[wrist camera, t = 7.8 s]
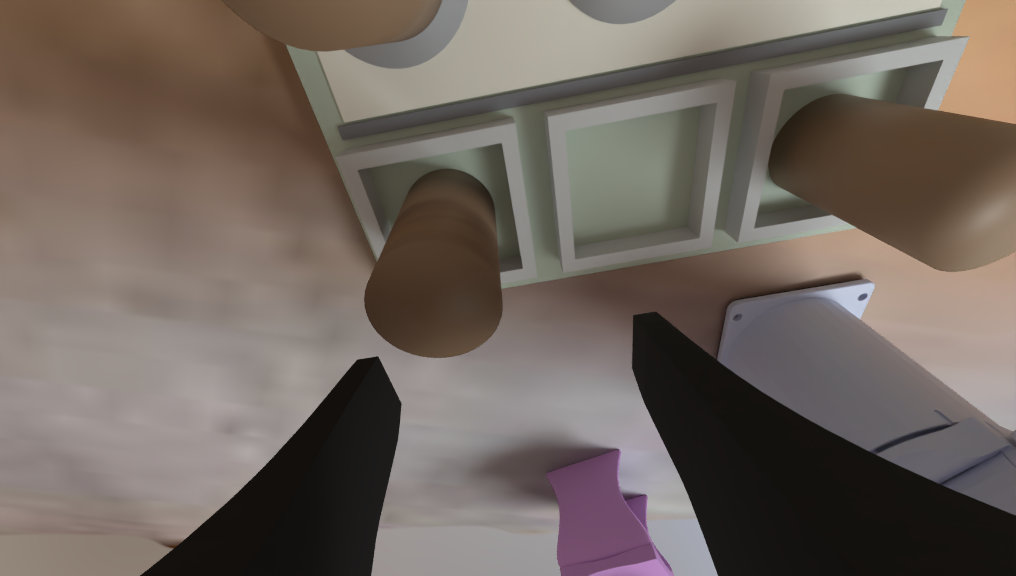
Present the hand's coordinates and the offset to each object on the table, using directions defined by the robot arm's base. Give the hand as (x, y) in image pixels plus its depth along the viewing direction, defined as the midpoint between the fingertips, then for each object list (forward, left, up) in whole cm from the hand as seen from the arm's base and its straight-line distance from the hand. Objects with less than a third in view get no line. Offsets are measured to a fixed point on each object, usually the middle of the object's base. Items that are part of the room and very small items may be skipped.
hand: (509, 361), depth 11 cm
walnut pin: (+1, +2, -8) cm, 9 cm away
